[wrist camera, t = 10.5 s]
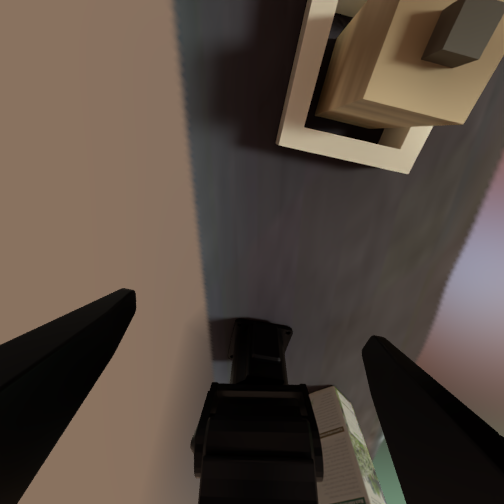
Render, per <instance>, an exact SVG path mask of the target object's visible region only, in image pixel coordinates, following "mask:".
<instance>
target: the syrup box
mask: <svg viewBox="0 0 504 504" xmlns="http://www.w3.org/2000/svg"><path fill="white" fill-rule="evenodd" d="M309 397H310V401H311V404H312V408H313V411H314V415H315V419H316V422H317V426H318V430H319V434H320V440H321V446H322V454H323V465H324V477H323V481H322V482H317V491H318V503H319V504H387V503H386V500H385V497H384V495H383V492H382V489H381V487H380V484H379V481H378V478H377V475H376V472H375V469H374V466H373V464H372V461H371V458H370V455H369V452H368V449H367V446H366V444H365V441H364V438H363V435H362V432H361V429H360V426H359V424H358V421H357V418H356V415H355V413H354V410H353V407H352V404H351V403H350V402H349V401H348V400H347V399H346V398H345V397H344V396H343V395H342V394H341V393H340V392H339V391H338V390H337V389H336V388H335V387H334V386H331V387H328V388H324V389H321V390H319V391H316V392H313V393H311V394H309Z"/></svg>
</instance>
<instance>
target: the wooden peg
mask: <svg viewBox="0 0 504 504" xmlns="http://www.w3.org/2000/svg"><path fill="white" fill-rule="evenodd" d="M503 55H504V0H367V2H366V3H365V4H364V5H363V6H362V8H361V9H360V10H359V11H358V13H357V14H356V15H355V16H354V18H353V19H352V20H351V21H350V23H349V24H348V25H347V26H346V28H345V29H344V30H343V31H342V32H341V34H340V35H339V36H338V37H337V39H336V42H335V46H334V49H333V53H332V56H331V60H330V63H329V67H328V70H327V73H326V77H325V80H324V84H323V87H322V91H321V94H320V97H319V101H318V104H317V108H316V111H315V116H319V117H323V118H327V119H331V120H335V121H339V122H343V123H347V124H351V125H355V126H360V127H364V128H368V129H376V128H397V127H418V126H440V125H461V124H464V122H465V121H466V119H467V117H468V115H469V114H470V112H471V110H472V108H473V107H474V105H475V103H476V102H477V100H478V98H479V96H480V95H481V93H482V91H483V90H484V88H485V86H486V84H487V83H488V81H489V79H490V78H491V76H492V74H493V72H494V71H495V69H496V67H497V66H498V64H499V62H500V60H501V59H502V57H503Z"/></svg>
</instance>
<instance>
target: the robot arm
mask: <svg viewBox="0 0 504 504" xmlns="http://www.w3.org/2000/svg"><path fill="white" fill-rule="evenodd" d="M135 311H136V293H135V291H134V290H130V289H125V288H122V289H120V290H117V291H115V292H113V293H111V294H109V295H107V296H105V297H102V298H100V299H98V300H96V301H94V302H92V303H90V304H88V305H85V306H83V307H81V308H79V309H77V310H74V311H72V312H70V313H68V314H66V315H64V316H62V317H59V318H57V319H55V320H53V321H51V322H49V323H47V324H44V325H42V326H40V327H38V328H36V329H34V330H31V331H29V332H27V333H25V334H23V335H21V336H19V337H16V338H14V339H12V340H10V341H8V342H6V343H4V344H1V345H0V504H17V503H18V501H19V500H20V498H21V497H22V496H23V494H24V492H25V491H26V489H27V488H28V486H29V485H30V483H31V482H32V480H33V479H34V477H35V475H36V474H37V472H38V471H39V469H40V468H41V466H42V465H43V463H44V462H45V460H46V458H47V457H48V455H49V454H50V452H51V451H52V449H53V448H54V446H55V444H56V443H57V441H58V440H59V438H60V437H61V435H62V434H63V432H64V431H65V429H66V428H67V426H68V425H69V423H70V421H71V420H72V418H73V417H74V415H75V414H76V412H77V411H78V409H79V408H80V406H81V404H82V403H83V401H84V400H85V398H86V397H87V395H88V394H89V392H90V391H91V389H92V387H93V386H94V384H95V383H96V381H97V380H98V378H99V377H100V375H101V373H102V372H103V370H104V369H105V367H106V366H107V364H108V363H109V361H110V359H111V358H112V356H113V355H114V353H115V351H116V349H117V347H118V345H119V343H120V341H121V339H122V338H123V336H124V334H125V332H126V330H127V328H128V326H129V324H130V322H131V320H132V318H133V316H134V314H135ZM238 323H240V324H238ZM287 331H289V332H287ZM292 334H293V331H292V328H290V327H286V326H280V325H274V324H268V323H262V322H256V321H249V320H243V319H237V320H236V321H235V325H234V330H233V334H232V339H231V343H230V348H229V352H228V358H229V359H233V360H232V368H231V377H230V384H219V383H218V382H212V384H211V388H210V391H208V393H207V397H206V400H205V403H204V407H203V410H202V413H201V417H200V421H199V424H198V426H197V428H196V431H195V433H194V435H193V437H192V440H191V450H192V452H193V453H194V474H195V477H196V478H200V489H199V501H198V504H319V503H318V491H317V482H322V481H323V477H324V465H323V454H322V446H321V440H320V434H319V430H318V426H317V422H316V419H315V415H314V411H313V408H312V404H311V401H310V397H309V394H308V390H307V387H306V384H300V385H288V380H287V371H286V362H285V351H286V348H287V346H288V343H289V341H290V339H291V336H292ZM362 357H363V362H364V366H365V370H366V375H367V379H368V384H369V388H370V392H371V396H372V399H373V403H374V406H375V409H376V412H377V415H378V418H379V421H380V424H381V427H382V430H383V433H384V436H385V439H386V442H387V445H388V448H389V452H390V455H391V458H392V461H393V464H394V467H395V470H396V473H397V476H398V479H399V482H400V485H401V488H402V491H403V494H404V497H405V501H406V504H504V437H503V436H501V435H499V434H498V432H496V431H495V430H494V429H493V428H492V427H491V426H489V425H488V424H487V423H486V422H485V421H484V420H482V419H481V418H480V417H479V416H478V415H476V414H475V413H474V412H473V411H472V410H470V409H469V408H468V407H467V406H466V405H464V404H463V403H462V402H461V401H460V400H458V399H457V398H456V397H455V396H454V395H452V394H451V393H450V392H449V391H448V390H446V389H445V388H444V387H443V386H442V385H440V384H439V383H438V382H437V381H436V380H435V379H433V378H432V377H431V376H430V375H429V374H427V373H426V372H425V371H424V370H422V369H421V368H420V367H419V366H418V365H417V364H415V363H414V362H413V361H412V360H411V359H409V358H408V357H407V356H406V355H405V354H404V353H402V352H401V351H400V350H399V349H398V348H396V347H395V346H394V345H393V344H392V343H390V342H389V341H388V340H387V339H386V338H384V337H381V336H375V335H373V336H371V337H370V339H369V340H368V341H367V343H366V344H365V346H364V347H363V349H362Z"/></svg>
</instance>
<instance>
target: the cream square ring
mask: <svg viewBox="0 0 504 504" xmlns="http://www.w3.org/2000/svg"><path fill="white" fill-rule="evenodd" d="M366 2H367V0H307V4H306V9H305V13H304V18H303V22H302V27H301V31H300V36H299V40H298V45H297V49H296V54H295V58H294V63H293V67H292V72H291V76H290V81H289V85H288V90H287V94H286V98H285V103H284V107H283V112H282V116H281V121H280V125H279V130H278V134H277V139H276V144H277V145H280V146H284V147H289V148H293V149H297V150H302V151H306V152H311V153H315V154H320V155H324V156H329V157H333V158H338V159H342V160H347V161H351V162H356V163H360V164H365V165H369V166H374V167H378V168H383V169H387V170H392V171H396V172H401V173H405V174H409V172H410V170H411V168H412V166H413V164H414V162H415V160H416V158H417V156H418V154H419V152H420V150H421V149H422V147H423V145H424V143H425V141H426V139H427V137H428V135H429V133H430V131H431V129H432V127H433V126H418V127H397V128H384V131H383V133H382V135H381V138H380V140H379V142H378V144H374V143H370V142H366V141H361V140H357V139H353V138H348V137H344V136H340V135H335V134H331V133H327V132H322V131H318V130H314V129H309V128H305V127H304V125H305V121H306V118H307V114H308V110H309V107H310V103H311V99H312V96H313V92H314V88H315V84H316V81H317V77H318V73H319V70H320V66H321V62H322V59H323V55H324V51H325V48H326V44H327V40H328V37H329V33H330V29H331V25H332V22H333V18H334V14H335V13H338V14H342V15H346V16H349V17H353V18H354V16H355V15H356V14H357V13H358V11H359V10H360V9H361V8H362V6H363V5H364V4H365V3H366Z"/></svg>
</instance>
